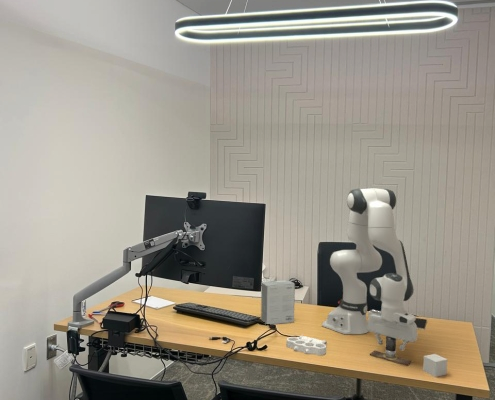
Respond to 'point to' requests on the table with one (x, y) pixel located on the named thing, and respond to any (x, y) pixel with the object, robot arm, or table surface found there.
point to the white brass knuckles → (307, 345)
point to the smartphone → (420, 323)
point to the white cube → (435, 365)
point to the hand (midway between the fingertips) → (390, 346)
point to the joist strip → (396, 359)
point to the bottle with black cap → (390, 347)
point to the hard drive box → (277, 302)
